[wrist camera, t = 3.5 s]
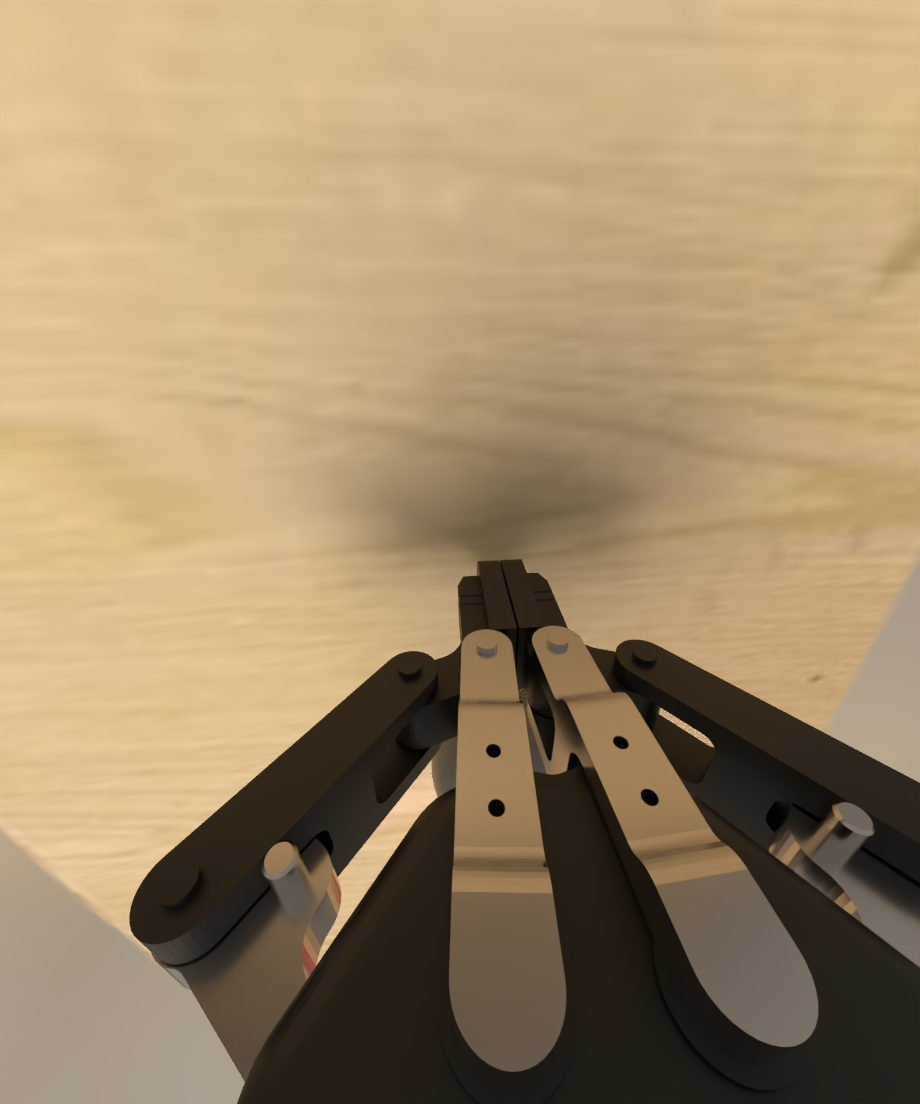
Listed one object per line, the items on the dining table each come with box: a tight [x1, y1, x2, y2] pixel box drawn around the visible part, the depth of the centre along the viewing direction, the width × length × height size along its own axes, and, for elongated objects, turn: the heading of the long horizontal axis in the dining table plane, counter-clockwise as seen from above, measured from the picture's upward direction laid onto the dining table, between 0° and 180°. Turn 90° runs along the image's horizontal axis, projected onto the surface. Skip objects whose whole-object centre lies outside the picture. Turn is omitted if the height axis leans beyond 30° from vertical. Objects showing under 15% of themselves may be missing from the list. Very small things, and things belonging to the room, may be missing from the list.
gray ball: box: [432, 707, 546, 797], centre depth 18 cm, size 6×6×6 cm
